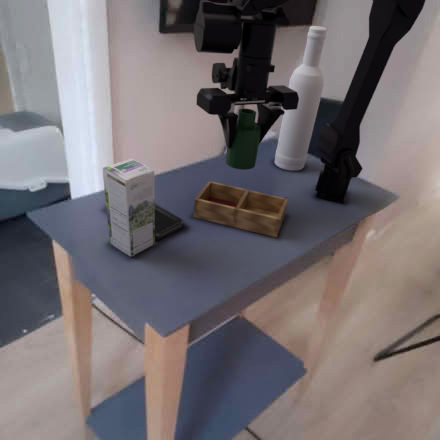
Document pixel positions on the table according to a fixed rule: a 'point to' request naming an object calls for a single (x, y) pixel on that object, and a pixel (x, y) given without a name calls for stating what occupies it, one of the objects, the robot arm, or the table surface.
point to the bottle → (302, 105)
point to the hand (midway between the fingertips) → (242, 146)
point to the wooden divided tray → (240, 208)
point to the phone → (166, 223)
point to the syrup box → (130, 206)
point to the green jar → (244, 141)
